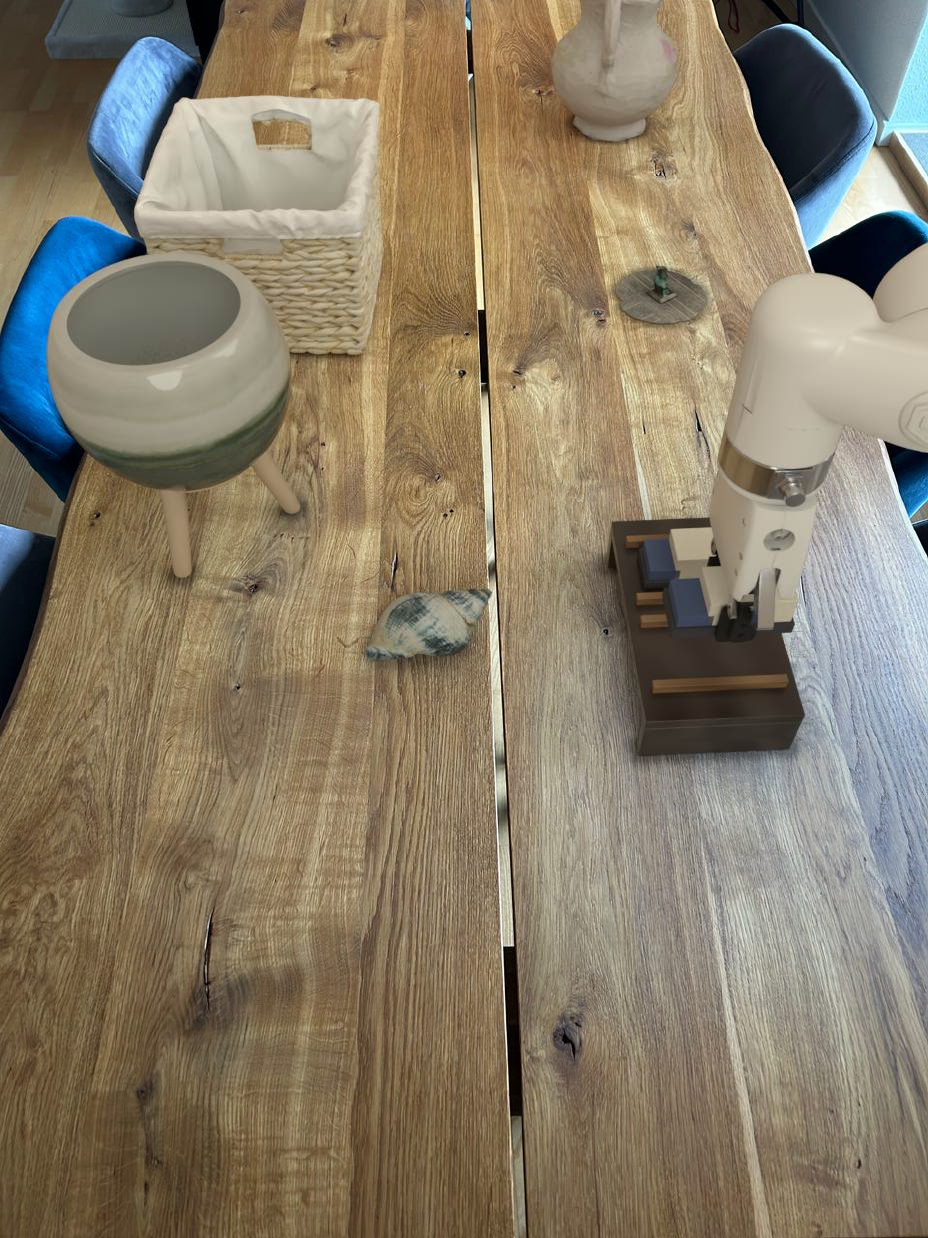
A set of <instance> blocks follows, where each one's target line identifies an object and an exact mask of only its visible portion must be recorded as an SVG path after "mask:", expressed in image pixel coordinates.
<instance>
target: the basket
mask: <svg viewBox="0 0 928 1238" xmlns="http://www.w3.org/2000/svg"><path fill="white" fill-rule="evenodd" d="M380 117H381V105H380V103H379V102H377V101H376V100H372V99H369V98H367V97H366V98H365V97H361V98H357V99H353V98H345V97H340V98H326V97H323V98H319V97H301V96H299V97H295V96H283V95H266V94H265V95H263V94H261V95H246V96H245V95H244V96H243V95H242V96H238V97H235V96H227V97H212V98H211V97H210V98H209V97H208V98H188V97H181V98H180V99H179V100H178V102H175V103H174V106H173V109H172V111H171V114H170V116H169V117H168V120H167V124H166V125H165V126H164V128H163V130H162V132H161V135H160V138H159V140H158V142H157V144H156V146H155V148H154V152H153V153H152V156H151V160H150V162H149V166H148V169H147V170H146V173H145V177H144V180H143V182H142V187H141V189H140V192H139V194H138V196H137V200H136V202H135V206H134V208H133V213H134V214H133V215H134V216H133V217H134V222H135V224H136V228H137V231H138V234H139V236H140V238H143V241H144V244H145V247H146V252H147V255H150V254H158V253H192V254H199V255H204V256H209V257H212V258H216V259H219V260H221V261H224V262H226V263H228V264H230V265H232V266H233V267H235V268H236V269H238V270H239V271H241V272H242V273H243V274H244V275H245V276H247V277H248V278H249V279H250V280H251V281H252V282H253V283H254V284H255V286H256V287H257V288H258V289H259V290H260V291H261V293H262V294H263V295H264V297H265V298H266V299H267V301H268V302H269V304H270V305H271V307H272V309H273V310H274V312H275V314H276V316H277V318H278V320H279V322H280V324H281V327H282V329H283V332H284V335H285V338H286V341H287V344H288V349H289V353H293V354H303V353H307V352H308V353H309V354H313V355H325V354H329V353H331V354H336V355H337V354H338V355H339V354H347V355H350V356H358V355H361V354H363V353H364V351H365V350H366V348H367V346H368V339H369V337H370V335H371V330H372V329H371V327H372V325H373V318H374V313H375V309H376V304H377V297H378V296H377V294H378V293H377V292H378V288H379V281H380V278H381V274H382V271H381V270H382V266H383V257H384V250H385V248H384V240H383V233H382V232H383V231H382V228H383V227H382V211H381V208H382V206H381V205H382V204H381V194H380V193H381V189H380V187H381V182H380V167H379V163H380V162H379V155H380V153H379V145H380V144H379V133H380ZM273 122H274V123H290V122H291V123H302V124H304V125H305V132H306V134H307V136H308V137H309V138H308V142H307V143H304V144H303V143H295V144H293V143H288V144H286V143H283V144H282V143H281V144H274V143H273V144H272V143H271V144H261V143H258V144H257V140H256V134H255V130H254V125H253V123H262V124H263V125H264V126H271V125H272V123H273Z"/></svg>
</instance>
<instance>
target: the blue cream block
mask: <svg viewBox="0 0 928 1238" xmlns="http://www.w3.org/2000/svg"><path fill="white" fill-rule="evenodd" d="M729 594H730V593H729V591H728V588H727V584H726V581H725V577H724V574H723V570H722V567H721V566H713V567H702V570H701V574H700V577H699V578H689V579H671V580H670V583H669V588H664V590H663V594H662V599H663V604H664V608H665V613H666V618H667V622H668V627H669V632H670V636H671V639H678V638H697V637H715V636H714V635H715V631H716V628H717V624H718V621H719V617H720V614H721V611H722V607H725V606H728V601H729ZM743 596H744V599H741V601H740V602H754V594H748V595H743ZM799 601H800V600H799V597H798V593H797V591H796V592H795V594H794V595H793V597H792V598H791V599H786V600H781V599H780V596H779V593H778V590H777V586H776V588H775V612H774V628H773V630H758V631H757V633H756V634H775V633H782V634H791V633H793V632H794V628H795V626H796V623H795V619H794V614H795V612H796V610H797V606H798V604H799Z"/></svg>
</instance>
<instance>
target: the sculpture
mask: <svg viewBox="0 0 928 1238" xmlns="http://www.w3.org/2000/svg"><path fill="white" fill-rule="evenodd" d="M655 268H656V269H644V270H640V271H635V272H634V273H632V275H627V276H625V277H624V278H623V279H622V280H620V283H619V284H618V286H617V287H616V289H615V295H616V297H617V298H618V299H620V300H621V301H622V302H621V303H620V309H621V310H622V311H623V312H625V313H626V314H628V316H630V317H632V318H633V319H637V320H641V321H646V322H649V323H654V324H658V325H662V324H675V323H680V322H687V321H690V320H692V319H694V318H696V317H697V316H698V315H699V314H700V312H702V311H703V309H704V307H705V306H706V304H707V295H706V292H705V291H704V288H703V287H702V286H701V285H699V284H696V283H694V282H693V281H692V280H691V279H690V278H688V277H687V276H685V275H683V274H682V273H679V272H675V271H672V270H668V268H667V267H666V265H664V266H663V265H660V266H659V265H656V266H655Z"/></svg>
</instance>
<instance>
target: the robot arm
mask: <svg viewBox="0 0 928 1238" xmlns="http://www.w3.org/2000/svg"><path fill="white" fill-rule="evenodd" d="M725 420H726V421H725V423H724V428H723V432H722V436H721V440H720V444H719V448H718V452H717V456H716V466H717V472H716V475H715V479H714V483H713V487H712V490H711V491H712V492H711V495H710V501H709V508H708V515H709V516H708V517H710V523H711V528H712V532H713V536H714V537H713V539H712V541H711V553H712V555H716V556H709V559H708V563H707V567H713V566H721V567H722V570H723V574H724V577H725V581H726V584H727V588H728V591H729V593H730V594H729V601H728V606H725V607H722V611H721V614H720V617H719V621H718V624H717V628H716V631H715V635H714V636H715V640H716V641H717V642H733V643H739V642H745V641H750V640H753V639H754V638H755V636H756V633H757V631H758V630H773V628H774V612H775V588H776V586H777V590H778V593H779V596H780V599H781V600H786V599H791V598H792V597H793V595H794V594H795V592H796V593H797V589H798V586H799V584H800V581H801V577H802V575H803V570H804V567H805V564H806V560H807V557H808V553H809V549H810V546H811V541H812V537H813V534H814V533H813V532H814V527H815V520H816V514H817V507H818V506H817V504H818V499H817V493H819V492H820V490H821V489H822V488H823V486H824V484H825V481H826V480H827V479H826V478H827V476H828V474H829V470H830V467H831V465H832V462H833V460H834V457H835V454H836V451H837V448H838V446H839V444H840V441H841V438H842V436H843V432H844V429H845V427H847V428H850V429H853V430H855V431H858V432H860V433H863V434H866V435H869V436H871V437H874V438H876V439H879V440H882V441H883V442H887V443H889V444H893V445H895V446H898V447H901V448H905V449H907V450H912V451H917V452H920V453H926V454H927V453H928V242H926V243H923V244H922V245H920V246H918V247H917V248H915V249H914V250H912V251H911V252H910V253H908V254H907V255H906V256H904V257H903V258H901V259H900V260H899V261H897V262H896V263H895V264H894V265H893V266H892V267H891V268H890V269H889V270H888V271H887V273H886V274H885V275H884V276H883V278H882V279H881V281H879V284H878V285H877V287H876V289H875V292H874V295H873V297H871V296H870V295H869V294H868V293H867V292H866V291H865V290H864V289H862V288H860V287H859V286H858V285H857V284H855V283H854V282H851V281H850V280H848V279H845V278H843V277H840V276H836V275H833V274H828V273H821V272H804V273H803V272H802V273H796V274H792V275H788V276H785V277H782V278H780V279H777V280H776V281H774V282H773V283H771V284H770V285H769V286H767V287H766V288H765V289H764V290H763V292H761V294H760V295H759V296H758V298H757V300H756V302H755V304H754V306H753V309H752V312H751V315H750V319H749V322H748V326H747V331H746V335H745V341H744V343H743V348H742V353H741V357H740V360H739V364H738V369H737V374H736V378H735V382H734V386H733V390H732V393H731V399H730V402H729V406H728V411H727V415H726V419H725ZM748 594H754V602H740V601H741V599H744V596H743V595H748Z"/></svg>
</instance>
